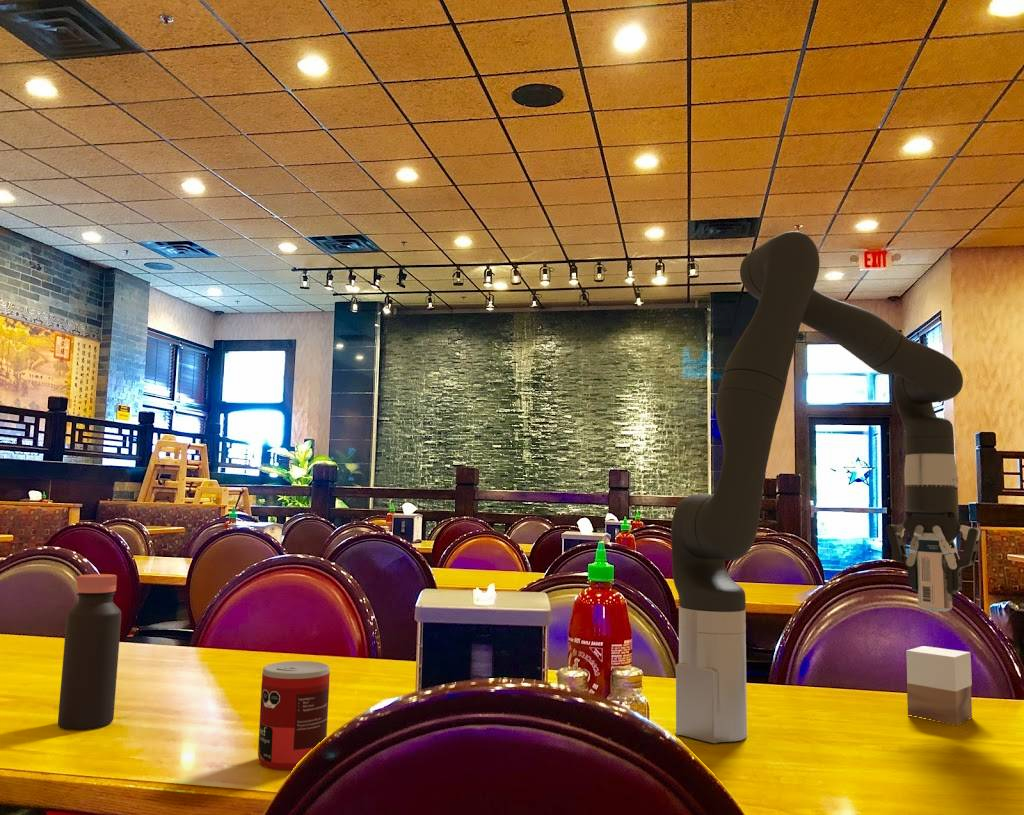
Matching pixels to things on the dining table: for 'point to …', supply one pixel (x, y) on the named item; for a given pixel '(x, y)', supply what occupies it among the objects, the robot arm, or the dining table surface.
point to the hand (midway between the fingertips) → (934, 591)
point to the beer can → (932, 575)
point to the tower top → (939, 668)
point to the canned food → (292, 712)
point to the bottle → (90, 655)
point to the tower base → (939, 704)
